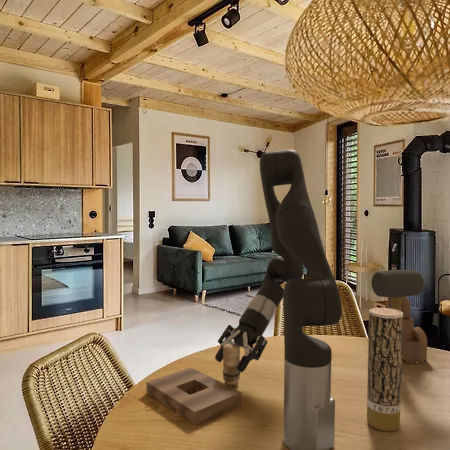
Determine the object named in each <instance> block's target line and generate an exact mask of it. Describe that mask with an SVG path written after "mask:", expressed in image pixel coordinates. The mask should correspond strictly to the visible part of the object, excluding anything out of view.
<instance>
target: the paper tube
mask: <svg viewBox="0 0 450 450" xmlns="http://www.w3.org/2000/svg"><path fill="white" fill-rule="evenodd" d="M402 336H403V313H402V312H401V311H399V310H395V309H390V308H387V307H373V308H370V309H369V312H368V346H367V349H368V350H367V351H368V352H367V389H366V390H367V391H366V392H367V393H366V396H367V397H366V420H367V421H366V422H368V424H369V426H371V427H372V428H374V429H376V430H378V431H381V432H395V431H397V430H399V428H400V426H401V406H402V405H401V403H402V400H401V399H402V375H401V373H402V369H403V363H402V362H403V356H402ZM402 374H403V373H402Z"/></svg>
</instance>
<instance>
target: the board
mask: <svg viewBox="0 0 450 450" xmlns="http://www.w3.org/2000/svg"><path fill="white" fill-rule="evenodd" d="M193 392H194V393H193ZM191 393H192V394H191ZM146 395H148V396H150V397H151V398H153V399H155V400H156V401H157V402H159V403H160V404H162V405H164V407H166V408H168V409H169V410H171V412H173V413H176V414H177V415H178V416H180V417H182V418H183V419H185V421H188V422H189V423H190V424H192V425H193V426H197V425H199V424H202V423H203V422H205V421H207V420H210V419H212V418H215V417H217V416H219V415H221V414H223V413H225V412H228V411H230V410H232V409H234V408H237V407H239V406H240V405H242V391H240V390H238V389H236V388H234V387H233V386H232V387H231V386H228V385H226V384H225V382H224V383H223V382H221V381H220V380H218V379H215V378H214V377H212V376H209V375H207V374H206V373H204V372H201V371H199V370H197V369H196V368H193V367H191V366H190V367H187V368H184V369H181V370H178V371H175V372H172V373H169V374H166V375H163V376H161V377H157V378H154V379H151V380H148V381H146Z"/></svg>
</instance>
